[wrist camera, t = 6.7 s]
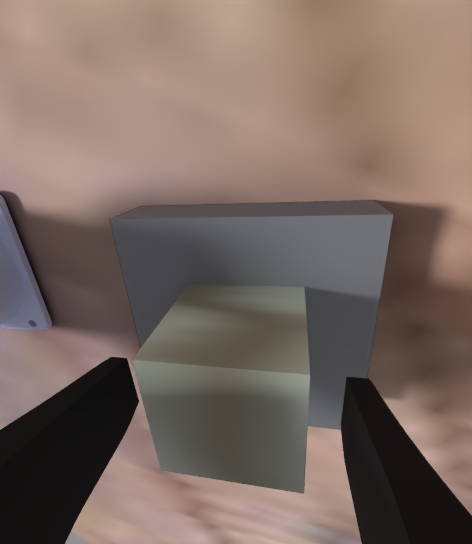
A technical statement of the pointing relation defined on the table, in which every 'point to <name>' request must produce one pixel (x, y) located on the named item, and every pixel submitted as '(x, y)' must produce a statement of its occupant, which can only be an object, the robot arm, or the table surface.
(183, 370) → the green cube
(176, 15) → the table surface
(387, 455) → the robot arm
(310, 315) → the grey base block
